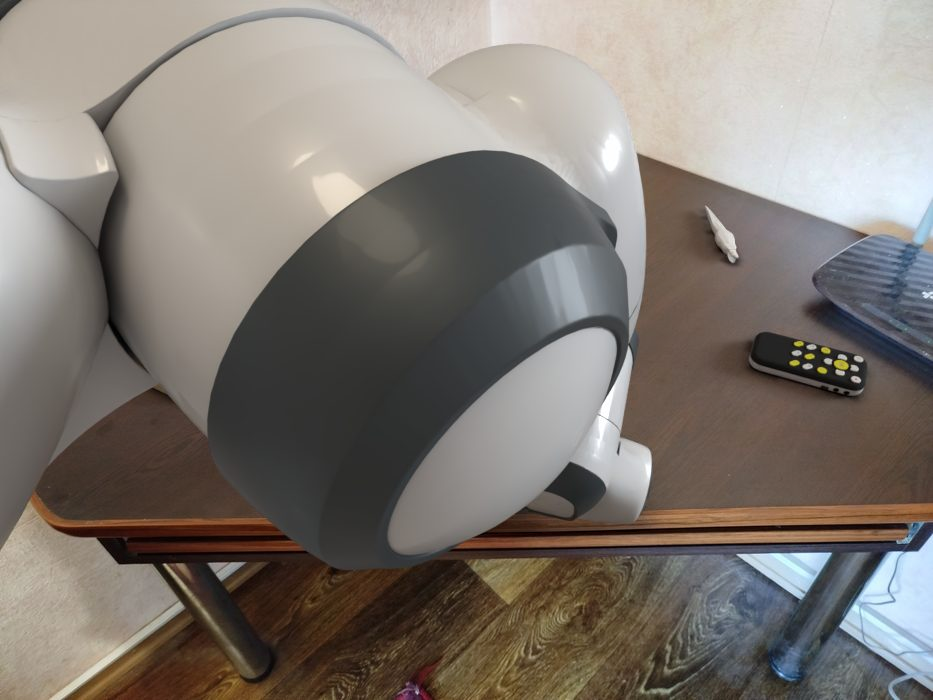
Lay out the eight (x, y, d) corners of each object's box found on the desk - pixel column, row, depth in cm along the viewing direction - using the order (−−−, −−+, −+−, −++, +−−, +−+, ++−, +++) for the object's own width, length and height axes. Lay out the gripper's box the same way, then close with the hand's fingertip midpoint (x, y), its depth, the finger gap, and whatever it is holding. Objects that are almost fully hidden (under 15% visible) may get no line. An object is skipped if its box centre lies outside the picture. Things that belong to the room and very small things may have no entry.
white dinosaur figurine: (743, 264, 94) (746, 254, 92) (725, 265, 94) (728, 255, 93) (712, 209, 105) (714, 199, 103) (695, 211, 105) (698, 200, 103)
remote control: (754, 337, 83) (758, 326, 81) (864, 366, 78) (870, 354, 77) (745, 368, 79) (749, 357, 77) (860, 401, 74) (866, 389, 73)
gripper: (507, 358, 69) (388, 337, 72) (447, 521, 55) (304, 486, 58) (508, 397, 73) (396, 376, 76) (453, 557, 59) (319, 522, 63)
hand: (356, 424), depth 67 cm, fingers open, 8 cm apart
